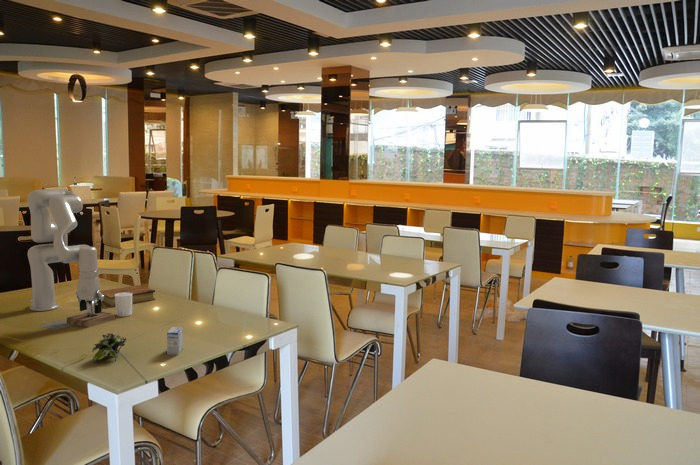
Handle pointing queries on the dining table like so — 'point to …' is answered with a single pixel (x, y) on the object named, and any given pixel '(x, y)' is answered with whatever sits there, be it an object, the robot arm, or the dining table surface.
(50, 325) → the mat
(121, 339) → the green leafy plant
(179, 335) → the medicine box
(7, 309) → the dining table surface
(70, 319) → the hole block
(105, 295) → the diary
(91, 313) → the peg
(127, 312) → the white cup
